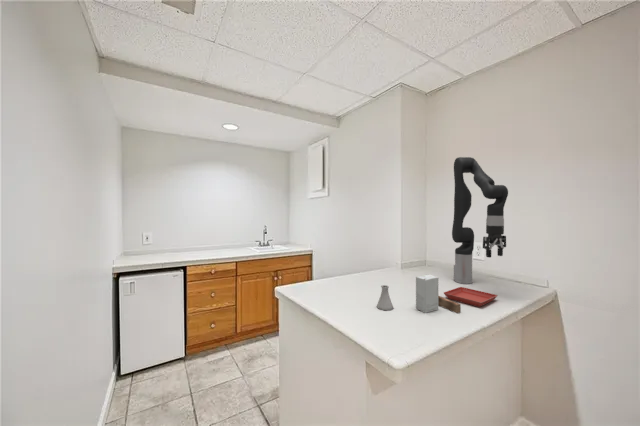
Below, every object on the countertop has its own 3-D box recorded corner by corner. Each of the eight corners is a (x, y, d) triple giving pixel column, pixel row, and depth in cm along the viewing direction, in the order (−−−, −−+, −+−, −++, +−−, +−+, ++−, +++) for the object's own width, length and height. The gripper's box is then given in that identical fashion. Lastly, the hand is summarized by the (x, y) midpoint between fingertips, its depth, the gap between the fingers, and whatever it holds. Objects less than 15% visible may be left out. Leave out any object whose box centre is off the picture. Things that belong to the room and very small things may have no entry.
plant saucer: (460, 292, 145) (460, 286, 145) (498, 301, 131) (498, 294, 131) (442, 299, 134) (442, 292, 134) (481, 310, 120) (481, 302, 120)
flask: (384, 312, 118) (384, 289, 117) (373, 306, 124) (373, 285, 124) (396, 309, 121) (396, 286, 121) (385, 304, 127) (385, 283, 127)
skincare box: (428, 305, 124) (428, 273, 124) (439, 310, 119) (439, 276, 119) (415, 308, 121) (415, 275, 121) (425, 313, 115) (425, 279, 115)
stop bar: (422, 298, 134) (422, 291, 134) (426, 298, 135) (426, 290, 135) (456, 313, 116) (456, 304, 116) (460, 312, 117) (460, 303, 117)
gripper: (497, 223, 142) (496, 254, 143) (478, 224, 137) (477, 256, 137) (511, 224, 135) (511, 256, 136) (492, 225, 130) (492, 259, 130)
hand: (494, 256), depth 136 cm, fingers open, 8 cm apart
